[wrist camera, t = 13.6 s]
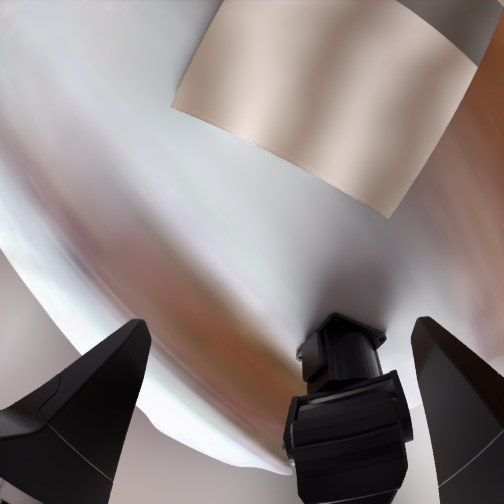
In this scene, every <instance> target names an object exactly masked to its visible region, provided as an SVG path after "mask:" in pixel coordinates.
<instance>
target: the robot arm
mask: <svg viewBox="0 0 504 504" xmlns="http://www.w3.org/2000/svg"><path fill="white" fill-rule="evenodd" d="M334 318H337V319H334ZM380 338H381V339H380ZM386 339H387V338H386V335H385V334H384V333H382V332H380V331H378V330H375V329H373V328H371V327H368V326H366V325H364V324H361V323H359V322H357V321H355V320H352V319H350V318H348V317H345V316H343V315H341V314H339V313H333V314H331V315H330V316H329V317H328V319H327V320H326V321H325V322H324V323H323V324H322V326H321V327H320V328H319V329H318V330H316V331H315V332H314V333H313V334H312V335H311V337H310V338H309V339H308V340H307V341H306V342H305V343H304V344H303V346H302V348H301V349H300V350H299V351H298V353H297V354H296V359H297V360H298V361H301V362H302V370H303V381H304V382H306V383H307V395H304V396H300V397H299V396H295V397H292V401H291V405H290V407H289V412H288V417H287V422H286V427H285V431H284V436H283V440H284V441H283V443H282V447H283V449H284V450H285V451H286V452H287V456H288V459H289V461H290V463H291V464H292V466H294V467H296V474H297V485H298V486H297V487H298V495H299V497H300V498H301V500H302V501H303V503H304V504H391V502H392V501H393V499H394V496H395V495H396V493H397V491H398V489H400V487H401V485H402V483H403V480H404V478H405V475H406V472H407V469H408V461H407V455H406V448H405V443H406V442H409V441H412V440H413V428H412V422H411V417H410V412H409V408H408V404H407V401H406V398H405V394H404V391H403V388H402V385H401V382H400V379H399V376H398V374H397V371H396V370H393V371H390V373H387V374H384V375H383V372H382V368H381V365H380V361H379V357H378V353H377V349H378V348H379V347H380V346H381V345H382V344H383V343H384V342H385V341H386ZM411 345H412V350H413V356H414V362H415V369H416V375H417V381H418V385H419V389H420V393H421V397H422V401H423V406H424V409H425V414H426V419H427V424H428V428H429V433H430V438H431V444H432V449H433V455H434V460H435V467H436V473H437V480H438V486H439V488H438V489H439V497H440V504H504V377H503V376H501V375H500V374H498V372H497V371H496V370H494V369H493V368H492V367H491V366H490V365H489V364H487V363H486V362H485V361H484V360H483V359H482V358H480V357H479V356H478V355H477V354H476V353H474V352H473V351H472V350H471V349H469V348H468V347H467V346H466V345H465V344H463V343H462V342H461V341H460V340H458V339H457V338H456V337H455V336H454V335H452V334H451V333H450V332H449V331H447V330H446V329H445V328H444V327H442V326H441V325H440V324H438V323H437V322H436V321H435V320H433V319H432V318H431V317H429V316H425V317H419V318H418V319H417V320H416V323H415V326H414V329H413V332H412V335H411ZM150 346H151V335H150V333H149V330H148V327H147V325H146V322H145V321H144V320H143V319H132V320H130V321H129V322H127V323H126V324H125V325H123V326H122V327H121V328H119V329H118V330H116V331H115V332H114V333H112V334H111V335H110V336H108V337H107V338H106V339H104V340H103V341H101V342H100V343H99V344H97V345H96V346H95V347H93V348H92V349H91V350H89V351H88V352H87V353H85V354H84V355H83V356H81V357H80V358H79V359H78V360H76V361H75V362H73V363H72V364H71V365H69V366H68V367H67V368H65V369H64V370H63V371H61V373H59V374H57V375H56V376H55V377H53V378H52V379H50V380H49V381H48V382H46V383H45V384H43V385H42V386H41V387H39V388H38V389H36V390H34V391H33V392H32V393H30V394H28V395H27V396H25V397H23V398H22V399H20V400H19V401H17V402H15V403H14V404H12V405H11V406H9V407H7V408H6V409H3V410H0V504H108V502H109V498H110V493H111V489H112V486H113V481H114V477H115V473H116V470H117V466H118V462H119V459H120V455H121V451H122V448H123V445H124V441H125V438H126V434H127V431H128V427H129V424H130V421H131V417H132V414H133V411H134V408H135V405H136V401H137V398H138V395H139V392H140V389H141V386H142V383H143V379H144V375H145V370H146V365H147V360H148V356H149V351H150Z"/></svg>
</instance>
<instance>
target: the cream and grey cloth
mask: <svg viewBox="0 0 504 504" xmlns="http://www.w3.org/2000/svg"><path fill="white" fill-rule="evenodd" d="M503 8H504V0H224V1H223V3H222V5H221V6H220V8H219V10H218V12H217V13H216V15H215V17H214V19H213V20H212V22H211V24H210V26H209V28H208V30H207V31H206V33H205V35H204V37H203V39H202V41H201V43H200V45H199V47H198V49H197V51H196V53H195V55H194V57H193V59H192V61H191V63H190V65H189V67H188V69H187V71H186V73H185V75H184V78H183V80H182V82H181V84H180V86H179V89H178V91H177V93H176V95H175V98H174V100H173V102H172V105H171V108H174V109H176V110H179V111H181V112H184V113H186V114H189V115H191V116H193V117H196V118H198V119H200V120H203V121H205V122H207V123H209V124H212V125H214V126H216V127H218V128H221V129H223V130H225V131H227V132H229V133H232V134H234V135H236V136H238V137H240V138H242V139H244V140H246V141H249V142H251V143H253V144H255V145H257V146H259V147H261V148H263V149H265V150H267V151H269V152H271V153H273V154H275V155H277V156H279V157H281V158H283V159H285V160H286V161H288V162H290V163H292V164H294V165H296V166H298V167H300V168H302V169H303V170H305V171H307V172H309V173H311V174H313V175H314V176H316V177H318V178H320V179H322V180H323V181H325V182H327V183H329V184H331V185H332V186H334V187H336V188H338V189H339V190H341V191H343V192H344V193H346V194H348V195H349V196H351V197H353V198H355V199H356V200H358V201H360V202H361V203H363V204H364V205H366V206H368V207H369V208H371V209H373V210H374V211H376V212H377V213H379V214H381V215H382V216H384V217H385V218H387V219H388V220H389V218H390V217H391V215H392V214H393V212H394V211H395V209H396V208H397V206H398V205H399V204H400V202H401V201H402V199H403V197H404V196H405V194H406V193H407V191H408V190H409V188H410V187H411V185H412V184H413V182H414V181H415V179H416V177H417V176H418V174H419V173H420V171H421V170H422V168H423V166H424V165H425V163H426V161H427V160H428V158H429V157H430V155H431V153H432V152H433V150H434V148H435V147H436V145H437V143H438V141H439V140H440V138H441V136H442V135H443V133H444V131H445V129H446V128H447V126H448V124H449V122H450V120H451V119H452V117H453V115H454V113H455V111H456V109H457V108H458V106H459V104H460V102H461V100H462V98H463V96H464V94H465V92H466V90H467V89H468V87H469V85H470V83H471V81H472V79H473V77H474V74H475V72H476V70H477V68H478V67H479V65H480V63H481V61H482V58H483V56H484V54H485V52H486V50H487V47H488V45H489V43H490V41H491V38H492V36H493V33H494V31H495V29H496V26H497V24H498V21H499V19H500V16H501V14H502V11H503Z"/></svg>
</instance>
